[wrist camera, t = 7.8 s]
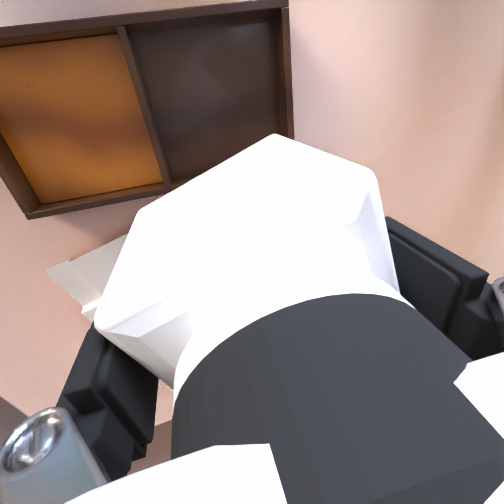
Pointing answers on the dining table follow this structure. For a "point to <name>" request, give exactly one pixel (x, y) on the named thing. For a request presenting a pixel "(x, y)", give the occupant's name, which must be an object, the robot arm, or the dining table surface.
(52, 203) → the dark wooden divided tray
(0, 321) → the dining table surface
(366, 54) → the dining table surface
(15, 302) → the dining table surface
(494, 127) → the dining table surface
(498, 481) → the medicine bottle
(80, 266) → the tray
